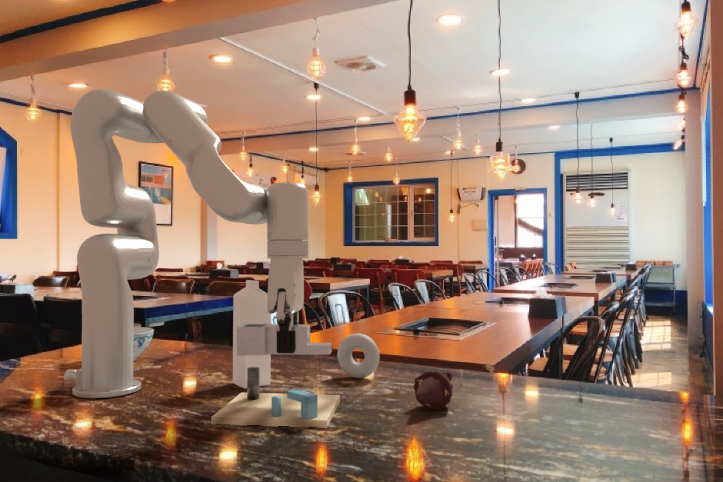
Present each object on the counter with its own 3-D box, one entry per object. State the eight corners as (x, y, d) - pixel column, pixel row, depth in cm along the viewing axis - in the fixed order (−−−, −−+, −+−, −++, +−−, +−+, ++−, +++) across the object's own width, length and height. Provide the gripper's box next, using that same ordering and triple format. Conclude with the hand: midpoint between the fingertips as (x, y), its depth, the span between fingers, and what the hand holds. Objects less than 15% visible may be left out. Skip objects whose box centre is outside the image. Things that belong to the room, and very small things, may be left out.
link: (236, 355, 101) (236, 327, 102) (245, 350, 107) (245, 323, 107) (328, 355, 100) (328, 327, 100) (332, 350, 105) (332, 323, 105)
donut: (334, 377, 126) (334, 333, 126) (340, 374, 129) (341, 331, 130) (376, 381, 122) (376, 335, 123) (381, 378, 126) (382, 333, 126)
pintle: (245, 399, 103) (245, 368, 103) (249, 396, 105) (249, 366, 105) (257, 400, 102) (257, 369, 103) (260, 397, 105) (260, 366, 105)
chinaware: (139, 367, 137) (139, 335, 137) (78, 367, 137) (78, 335, 137) (162, 355, 152) (162, 327, 152) (106, 355, 152) (107, 326, 152)
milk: (244, 389, 116) (244, 281, 116) (232, 383, 121) (232, 280, 121) (271, 384, 120) (271, 280, 120) (258, 379, 124) (258, 279, 125)
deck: (211, 424, 92) (211, 416, 92) (241, 398, 108) (241, 392, 108) (326, 428, 90) (326, 420, 90) (339, 401, 106) (339, 395, 106)
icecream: (442, 384, 93) (470, 375, 107) (403, 368, 97) (435, 361, 110) (431, 424, 94) (460, 410, 107) (392, 407, 97) (425, 395, 110)
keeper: (269, 422, 93) (269, 393, 93) (294, 416, 97) (294, 388, 97) (292, 431, 89) (292, 400, 89) (317, 424, 92) (317, 394, 92)
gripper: (278, 250, 112) (278, 343, 112) (255, 250, 96) (255, 359, 95) (315, 250, 111) (316, 344, 111) (299, 250, 95) (299, 360, 95)
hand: (288, 350), depth 103 cm, fingers closed on link, 3 cm apart
